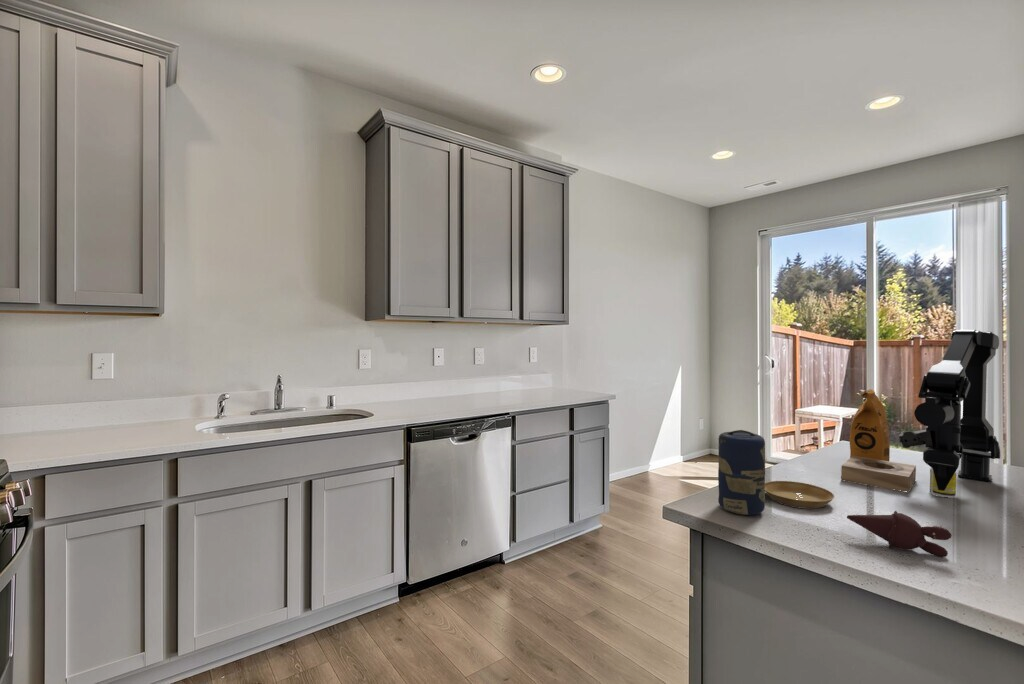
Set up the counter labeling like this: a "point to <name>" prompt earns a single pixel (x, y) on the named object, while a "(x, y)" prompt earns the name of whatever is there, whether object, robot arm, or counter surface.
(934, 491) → the supplement bottle
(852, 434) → the coffee package
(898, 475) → the wooden holder block
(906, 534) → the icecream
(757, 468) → the canister
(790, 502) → the plant saucer
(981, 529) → the counter surface
